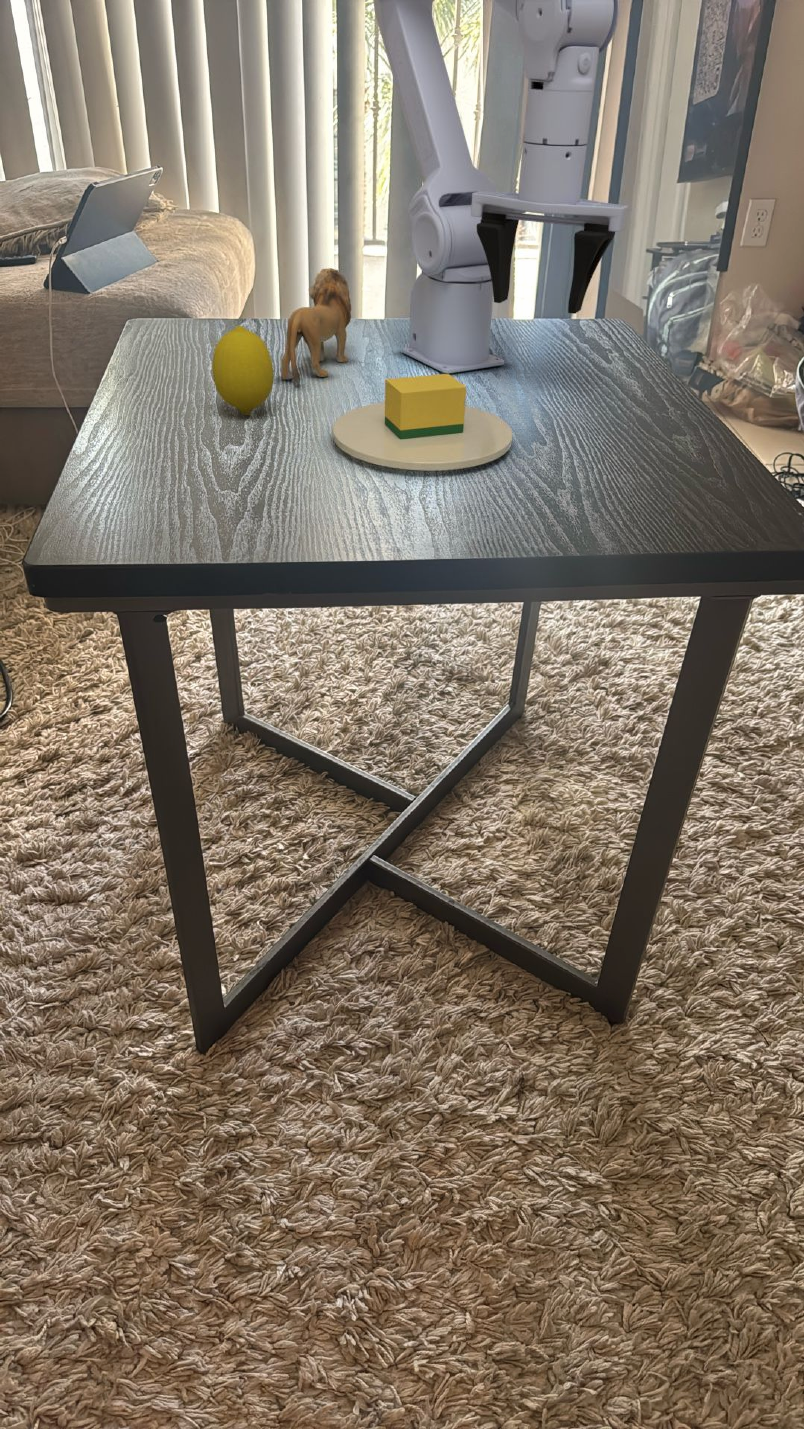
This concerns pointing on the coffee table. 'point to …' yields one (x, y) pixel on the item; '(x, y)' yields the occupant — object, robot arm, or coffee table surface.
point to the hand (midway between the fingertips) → (537, 306)
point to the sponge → (424, 406)
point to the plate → (422, 441)
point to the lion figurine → (319, 323)
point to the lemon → (242, 369)
